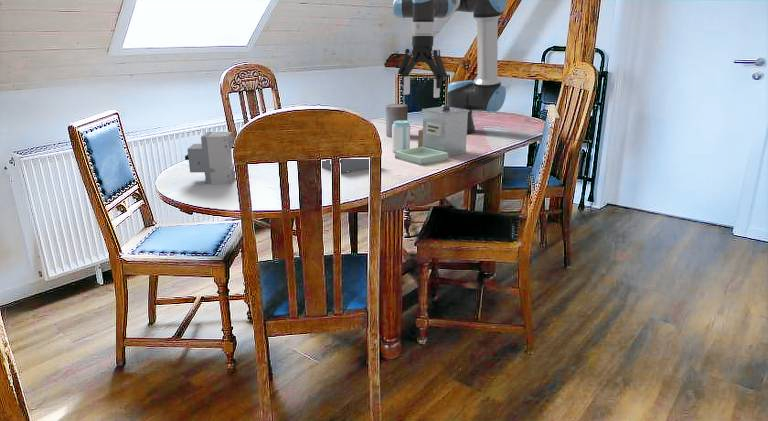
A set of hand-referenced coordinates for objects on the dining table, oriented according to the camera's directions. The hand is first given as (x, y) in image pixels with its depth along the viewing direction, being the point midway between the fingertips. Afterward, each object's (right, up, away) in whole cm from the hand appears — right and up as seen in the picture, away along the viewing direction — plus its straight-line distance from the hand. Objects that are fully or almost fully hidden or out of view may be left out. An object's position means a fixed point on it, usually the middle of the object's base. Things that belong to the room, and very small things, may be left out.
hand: (421, 96), depth 199 cm
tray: (0, -23, +4) cm, 23 cm away
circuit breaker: (-69, -33, -25) cm, 80 cm away
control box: (+10, -19, +14) cm, 26 cm away
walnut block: (+4, -16, +24) cm, 29 cm away
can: (-7, -19, +15) cm, 25 cm away
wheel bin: (-26, -26, -7) cm, 38 cm away
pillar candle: (-8, -8, +47) cm, 48 cm away
